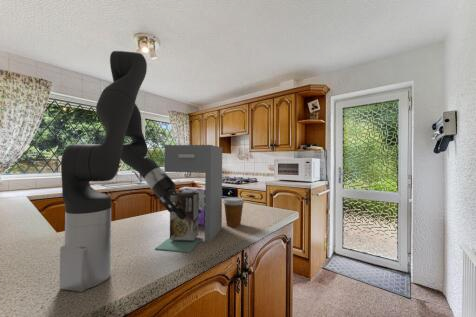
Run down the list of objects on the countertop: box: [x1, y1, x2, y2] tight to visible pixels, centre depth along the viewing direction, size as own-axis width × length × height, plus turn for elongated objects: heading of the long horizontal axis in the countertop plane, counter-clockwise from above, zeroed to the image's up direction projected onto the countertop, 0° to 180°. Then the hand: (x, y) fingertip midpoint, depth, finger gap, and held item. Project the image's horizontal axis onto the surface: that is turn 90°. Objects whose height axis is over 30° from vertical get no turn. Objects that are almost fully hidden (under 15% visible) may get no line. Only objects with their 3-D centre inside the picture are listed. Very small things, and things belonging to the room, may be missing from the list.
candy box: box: [178, 186, 205, 226], centre depth 100 cm, size 14×6×16 cm, turn 73°
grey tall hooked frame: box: [164, 144, 223, 244], centre depth 84 cm, size 17×18×35 cm
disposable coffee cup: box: [222, 196, 245, 228], centre depth 96 cm, size 10×10×12 cm
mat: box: [154, 236, 203, 253], centre depth 74 cm, size 12×12×1 cm
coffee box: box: [169, 191, 199, 240], centre depth 77 cm, size 9×6×16 cm
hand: (188, 215), depth 77 cm, fingers closed on coffee box, 6 cm apart
